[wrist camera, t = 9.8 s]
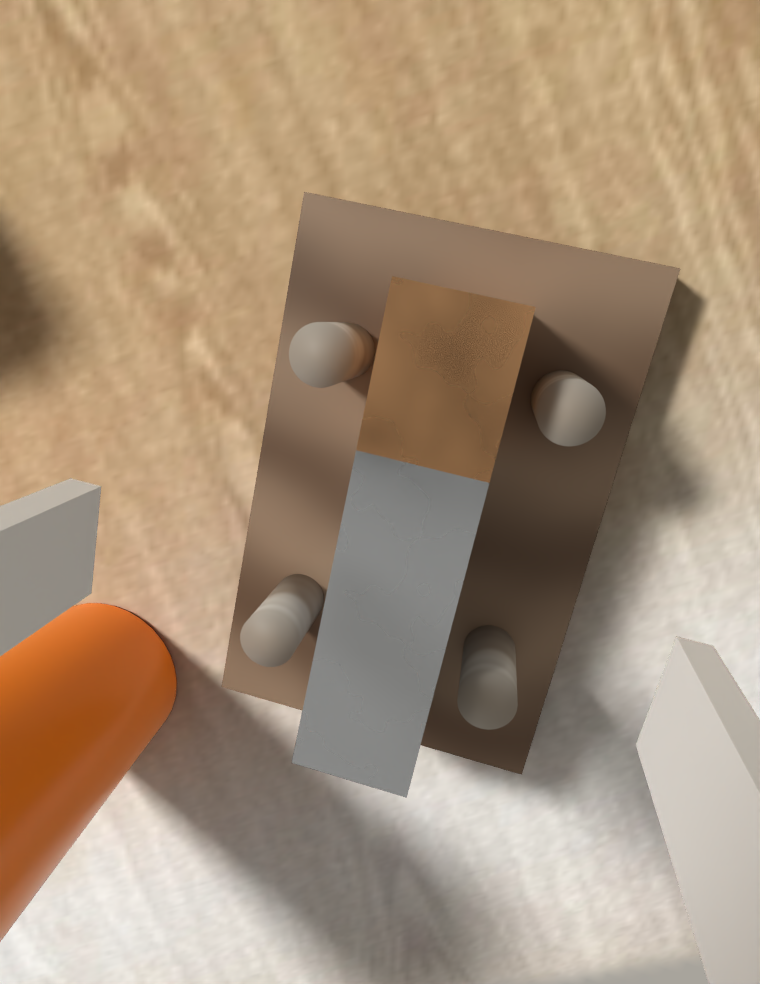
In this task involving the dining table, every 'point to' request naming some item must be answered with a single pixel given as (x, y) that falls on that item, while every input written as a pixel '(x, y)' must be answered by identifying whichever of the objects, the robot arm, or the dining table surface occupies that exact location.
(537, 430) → the peg rack
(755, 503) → the dining table surface
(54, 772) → the shaker bottle
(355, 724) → the bar
